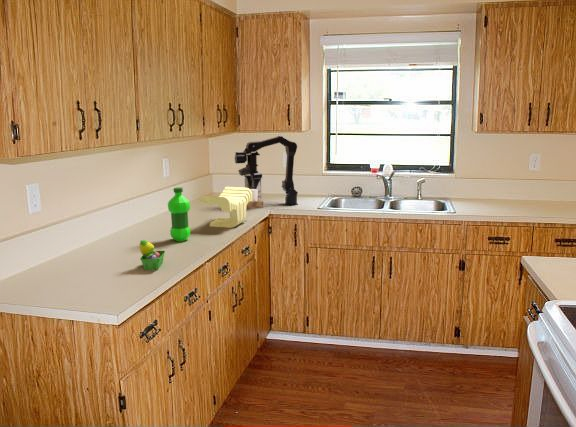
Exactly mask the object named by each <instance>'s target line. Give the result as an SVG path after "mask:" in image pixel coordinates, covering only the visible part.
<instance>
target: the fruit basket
mask: <svg viewBox="0 0 576 427" xmlns="http://www.w3.org/2000/svg"><path fill="white" fill-rule="evenodd" d="M139 247H140V248H139V250H140V253H141V254H142V256H141V257H140V258H139V259H140V261H141V264H142V266H143V269H144V270H145V271H158V270H159V269H160V267H161V266H162V264H163V262H164V257H165V253H166V250H155V246H154V244H152V243H151V242H149V241H148V240H146V239H143V240H140V243H139Z"/></svg>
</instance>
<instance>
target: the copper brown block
mask: <svg viewBox="0 0 576 427" xmlns="http://www.w3.org/2000/svg"><path fill="white" fill-rule="evenodd" d="M262 208H264V201H263V200H262V199H261V200H259V199H258V200H257V201H254V202H251V201H250V202H248V204H247V208H246V210H254V209H262Z"/></svg>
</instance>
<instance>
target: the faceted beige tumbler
mask: <svg viewBox="0 0 576 427" xmlns="http://www.w3.org/2000/svg"><path fill="white" fill-rule="evenodd" d="M250 190H251V192H252V201H251V202H254V201H257V200H258V189H250Z"/></svg>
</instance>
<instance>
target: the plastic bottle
mask: <svg viewBox="0 0 576 427" xmlns="http://www.w3.org/2000/svg"><path fill="white" fill-rule="evenodd" d="M183 190H184V189H183V187H174V188H173V193H174V196H173V197H171V198H170V199H169V200H168V202H167V209H168V211H169V212H170V216H171V217H170V218H171V228H170V231H169V234H170V237H171V238H172V239H173V240H176V242H185V241H187V239H188V238H190V236H191V228H190V226H189V214H188V213H189V211H190V210H191V204H190V201H189V199H187V197H185V196H184V195H183V194H182V193H184V191H183Z"/></svg>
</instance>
